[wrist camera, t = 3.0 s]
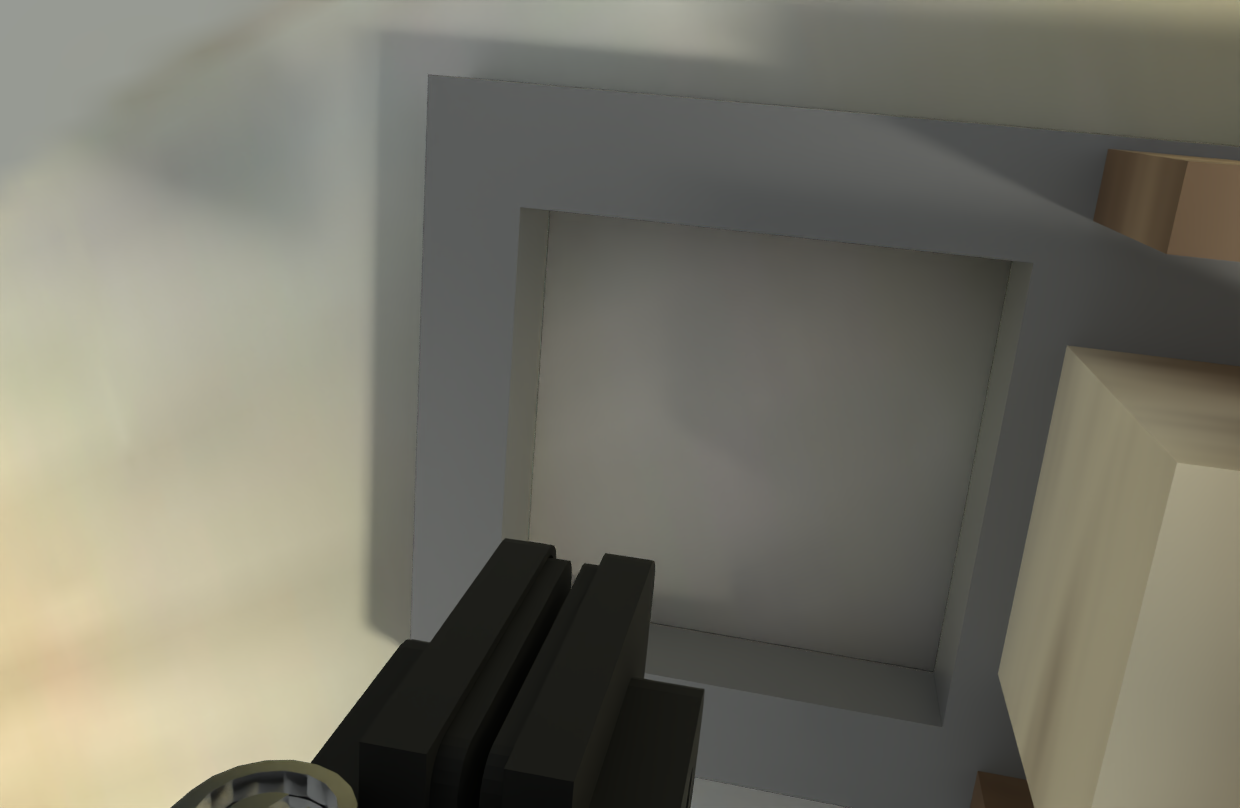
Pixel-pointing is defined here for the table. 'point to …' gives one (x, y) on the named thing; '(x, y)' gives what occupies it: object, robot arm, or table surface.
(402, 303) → the table surface
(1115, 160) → the tunnel walls
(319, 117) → the table surface
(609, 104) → the deck
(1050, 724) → the maple block
